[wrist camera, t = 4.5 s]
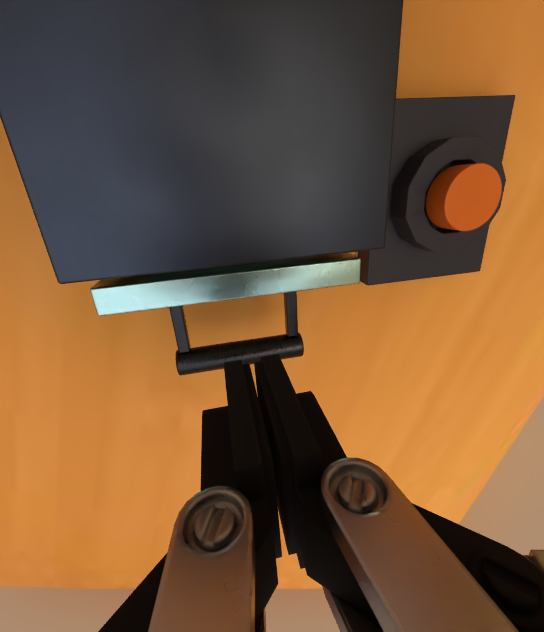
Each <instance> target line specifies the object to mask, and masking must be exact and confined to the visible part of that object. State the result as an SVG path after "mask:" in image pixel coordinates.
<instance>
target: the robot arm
mask: <svg viewBox="0 0 544 632" xmlns="http://www.w3.org/2000/svg"><path fill="white" fill-rule="evenodd" d="M254 365H255V375H256V385H257V393H256V389H255V385H254V381H253V377H252V373H251V369H250V365H249V363H247V364H242V360H236V361H229V362H224V370H225V380H226V390H227V400H228V406H225V407H219V408H214V409H208V410H203V412H202V452H201V492H199V493H197V494H196V495H194V496H193V497H192V498H191V499H190V500H188V501H187V502H186V504H185V505H184V506H183V508H182V509H181V511H180V512H179V514H178V517H177V519H176V522H175V525H174V529H173V533H172V537H171V541H170V545H169V549H168V553H167V554H166V555H165V556H164V557H163V558H162V559H161V561H160V562H159V563H158V564H157V565H156V566H155V567H154V569H153V570H152V571H151V572H150V573H149V574H148V575H147V577H146V578H145V579H144V580H143V581H142V582H141V583H140V585H139V586H138V587H137V588H136V589H135V590H134V591H133V593H132V594H131V595H130V596H129V597H128V599H127V600H126V601H125V602H124V603H123V604H122V605H121V606H120V608H119V609H118V610H117V611H116V612H115V613H114V614H113V616H112V617H111V618H110V619H109V620H108V621H107V623H106V624H105V625H104V626H103V627H102V628H101V629H100V630H99V632H266V613H265V607H266V605H267V603H268V601H269V599H270V597H271V595H272V594H273V592H274V590H275V588H276V586H277V585H278V576H277V566H276V558H279V557H282V551H281V540H280V528H279V517H278V510H279V515H280V519H281V524H282V528H283V533H284V537H285V542H286V546H287V550H288V554H289V555H291V554H295V553H297V556H298V560H299V564H300V568H301V569H302V568H305V569H306V572H307V575H308V576H309V577H310V578H312V579H313V580H315V581H316V582H318V583H319V584H321V585H322V586H323V590H324V593H325V597H326V599H327V601H328V604H329V606H330V608H331V611H332V613H333V615H334V618H335V620H336V622H337V624H338V627H339V629H340V632H544V550H531V551H530V553H529V555H521V554H519V553H517V552H516V551H514V550H512V549H510V548H509V547H507V546H505V545H502V544H500V543H498V542H496V541H494V540H491V539H489V538H487V537H485V536H483V535H481V534H478V533H476V532H474V531H472V530H469V529H467V528H465V527H463V526H461V525H459V524H456V523H454V522H452V521H450V520H448V519H445V518H443V517H441V516H439V515H437V514H434V513H432V512H430V511H428V510H426V509H423V508H421V507H419V506H417V505H415V504H412V503H411V502H410V501H409V500H408V499H407V497H406V496H405V495H404V494H403V493H402V491H401V490H400V489H399V488H398V487H397V486H396V484H395V483H394V482H393V481H392V480H391V478H390V477H389V476H388V475H387V474H386V473H385V472H384V471H383V470H382V469H381V468H380V467H378V466H377V465H375V464H373V463H371V462H369V461H366V460H363V459H360V458H347V457H346V455H345V453H344V451H343V449H342V447H341V445H340V443H339V442H338V440H337V438H336V436H335V434H334V432H333V430H332V428H331V426H330V424H329V423H328V421H327V419H326V417H325V415H324V413H323V411H322V409H321V407H320V406H319V404H318V402H317V400H316V398H315V396H314V394H313V393H312V392H311V391H309V392H303V393H298V394H296V393H295V391H294V388H293V386H292V384H291V381H290V379H289V377H288V375H287V372H286V370H285V368H284V366H283V363H282V361H281V359H280V357H279V355H278V354H274V355H267V356H261V357H260V361H259V362H255V363H254ZM257 394H258V397H257Z"/></svg>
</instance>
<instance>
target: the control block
mask: <svg viewBox="0 0 544 632" xmlns="http://www.w3.org/2000/svg"><path fill="white" fill-rule="evenodd" d="M514 99H515V95H502V96H471V97H439V98H407V99H396V101H395V115H394V128H393V141H392V154H391V168H390V181H389V194H388V207H387V220H386V234H385V247H384V248H383V249H375V250H366V251H359V254H358V257H359V258H360V259H361V264H360V281H361V282H363V283H365V284H366V285H375V284H383V283H391V282H399V281H406V280H414V279H422V278H430V277H438V276H445V275H453V274H461V273H469V272H477V271H480V268H481V263H482V258H483V253H484V248H485V243H486V238H487V233H488V228H489V224H490V222H491V221H492V219H493V218H494V216H495V215H496V213H497V212H498V210H499V208H500V205H501V201H502V196H503V191H504V186H505V182H506V179H505V174H504V170H503V166H502V159H503V154H504V149H505V144H506V139H507V134H508V129H509V124H510V119H511V114H512V109H513V104H514ZM475 163H484V164H488V165H490V166H492V167H493V168H494V169H495V170H496V171H497V172H498V174H499V176H500V179H501V184H502V192H501V197H500V201H499V204H498V206H497V208H496V210H495V212H494V213H493V215H492V216H491V217H490V218H489V220H488V221H486V222H485V223H484V224H483V225H481V226H480V227H478V228H476V229H474V230H470V231H458V230H452V229H446V228H441V227H438V226H436V225H435V224H433V223H432V222H431V220H430V219H429V217H428V215H427V212H426V196H427V192H428V190H429V187H430V185H431V184H432V182H433V180H434V179H435V178H436V177H437V176H438V175H439V174H440V173H441V172H442V171H444V170H445V169H447V168H449V167H451V166H456V165H465V164H475Z"/></svg>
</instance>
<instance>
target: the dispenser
mask: <svg viewBox="0 0 544 632" xmlns="http://www.w3.org/2000/svg"><path fill="white" fill-rule="evenodd" d="M402 9H403V0H0V117H1V120H2V123H3V126H4V129H5V132H6V135H7V137H8V140H9V143H10V146H11V149H12V152H13V155H14V157H15V160H16V163H17V166H18V169H19V172H20V175H21V177H22V180H23V183H24V186H25V189H26V192H27V195H28V197H29V200H30V203H31V206H32V209H33V212H34V215H35V217H36V220H37V223H38V226H39V229H40V232H41V235H42V237H43V240H44V243H45V246H46V249H47V252H48V255H49V257H50V260H51V263H52V266H53V269H54V272H55V275H56V277H57V280H58V283H59V284H66V283H75V282H84V281H93V280H102V279H111V278H120V277H130V276H139V275H148V274H157V273H166V272H175V271H184V270H193V269H202V268H212V267H221V266H230V265H239V264H248V263H257V262H266V261H275V260H284V259H293V258H303V257H312V256H321V255H330V254H339V253H348V252H357V251H366V250H375V249H383V248H384V247H385V234H386V220H387V207H388V194H389V181H390V168H391V154H392V141H393V128H394V115H395V101H396V88H397V75H398V62H399V49H400V35H401V22H402Z"/></svg>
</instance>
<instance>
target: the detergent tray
mask: <svg viewBox="0 0 544 632" xmlns="http://www.w3.org/2000/svg"><path fill="white" fill-rule="evenodd" d="M360 264H361V259H360V258H359V257H356V256H354V255H352V254H350V253H339V254H330V255H321V256H312V257H303V258H293V259H284V260H275V261H266V262H257V263H248V264H239V265H230V266H221V267H212V268H202V269H193V270H184V271H175V272H166V273H157V274H148V275H139V276H130V277H120V278H111V279H102V280H100V281H99V282H98V283H97V284H95V285H94V286H93V287H92V288H91V289H90V291H91V295H92V298H93V301H94V304H95V308H96V311H97V314H98V316H105V315H113V314H121V313H128V312H136V311H144V310H152V309H160V308H168V307H169V308H170V313H171V318H172V322H173V327H174V332H175V336H176V341H177V346H178V350H177V351H176V366H177V371H178V373H179V375H187V374H193V373H199V372H205V371H212V370H218V369H224V362H229V361H236V360H242V364H247V363H249V364H254V363H255V362H259V361H260V357H261V356H267V355H274V354H278V355H279V357H280V359H287V358H293V357H300V356H302V355H303V352H304V347H303V341H302V337H301V335H300V333H298V321H297V294H296V291H303V290H310V289H318V288H326V287H334V286H342V285H350V284H358V283H359V282H360ZM279 293H284V307H285V326H286V334H283V335H277V336H270V337H263V338H256V339H250V340H243V341H236V342H229V343H222V344H216V345H209V346H202V347H195V348H190V347H191V346H190V341H189V335H188V330H187V325H186V320H185V315H184V309H183V306H184V305H192V304H200V303H208V302H215V301H223V300H231V299H239V298H247V297H255V296H263V295H271V294H279Z"/></svg>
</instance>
